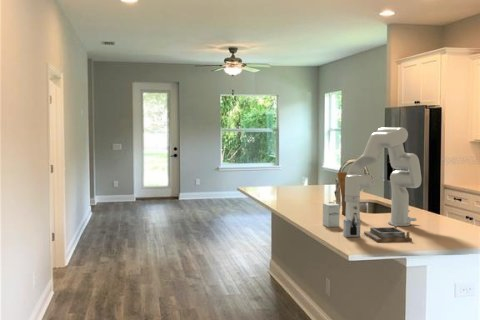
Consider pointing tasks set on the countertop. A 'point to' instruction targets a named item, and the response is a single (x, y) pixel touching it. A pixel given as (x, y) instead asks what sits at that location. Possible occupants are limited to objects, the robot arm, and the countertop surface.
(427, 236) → the countertop surface
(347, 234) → the medicine box
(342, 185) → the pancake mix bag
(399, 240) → the carrier board
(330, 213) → the supplement box
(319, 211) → the countertop surface
